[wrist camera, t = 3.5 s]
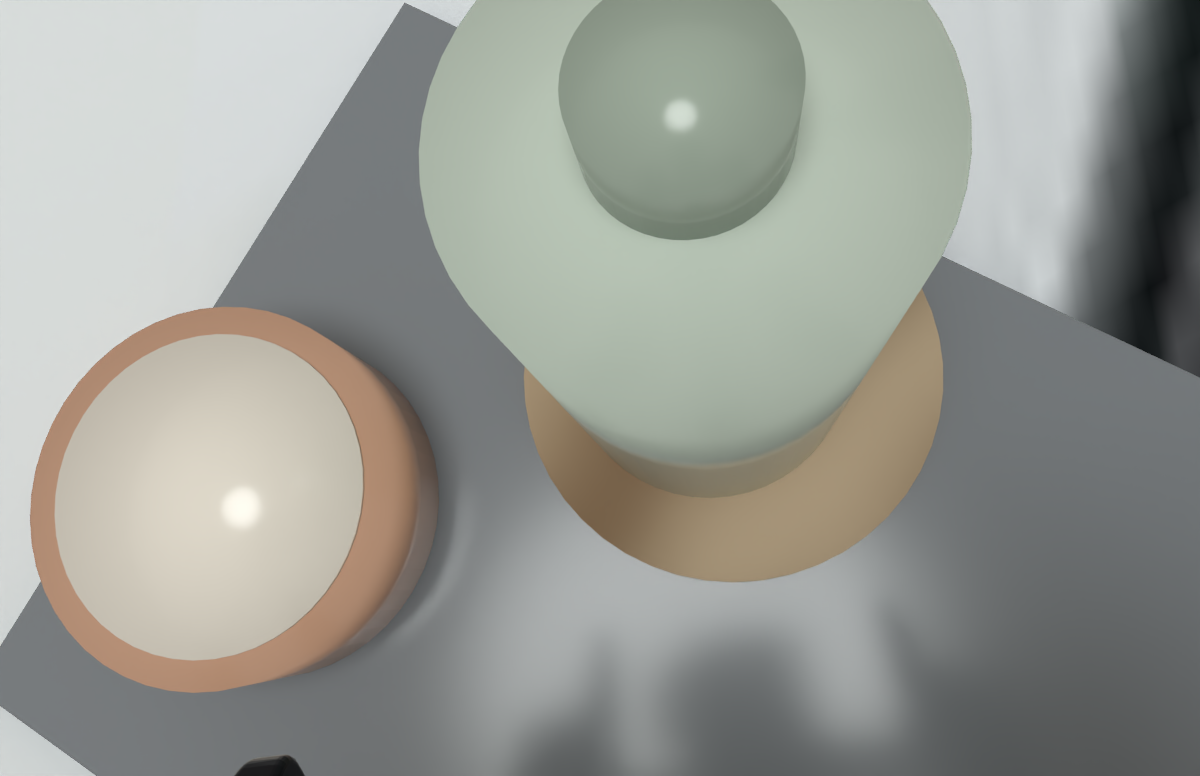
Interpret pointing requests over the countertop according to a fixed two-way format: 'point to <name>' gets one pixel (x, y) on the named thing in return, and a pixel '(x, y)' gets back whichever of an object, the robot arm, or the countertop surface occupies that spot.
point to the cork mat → (781, 509)
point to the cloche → (696, 211)
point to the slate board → (688, 605)
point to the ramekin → (231, 502)
